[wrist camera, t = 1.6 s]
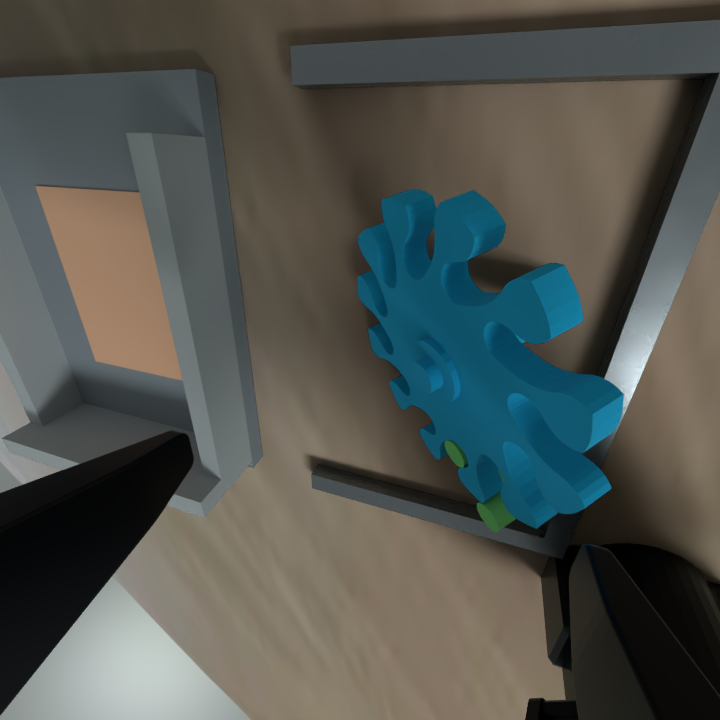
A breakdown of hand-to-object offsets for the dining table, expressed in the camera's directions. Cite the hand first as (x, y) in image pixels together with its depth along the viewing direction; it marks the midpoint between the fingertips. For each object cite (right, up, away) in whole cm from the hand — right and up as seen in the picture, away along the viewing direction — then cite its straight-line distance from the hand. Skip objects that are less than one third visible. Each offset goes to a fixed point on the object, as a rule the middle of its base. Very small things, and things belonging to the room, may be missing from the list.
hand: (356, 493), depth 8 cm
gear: (+3, +4, +8) cm, 10 cm away
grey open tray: (-12, +6, +11) cm, 17 cm away
